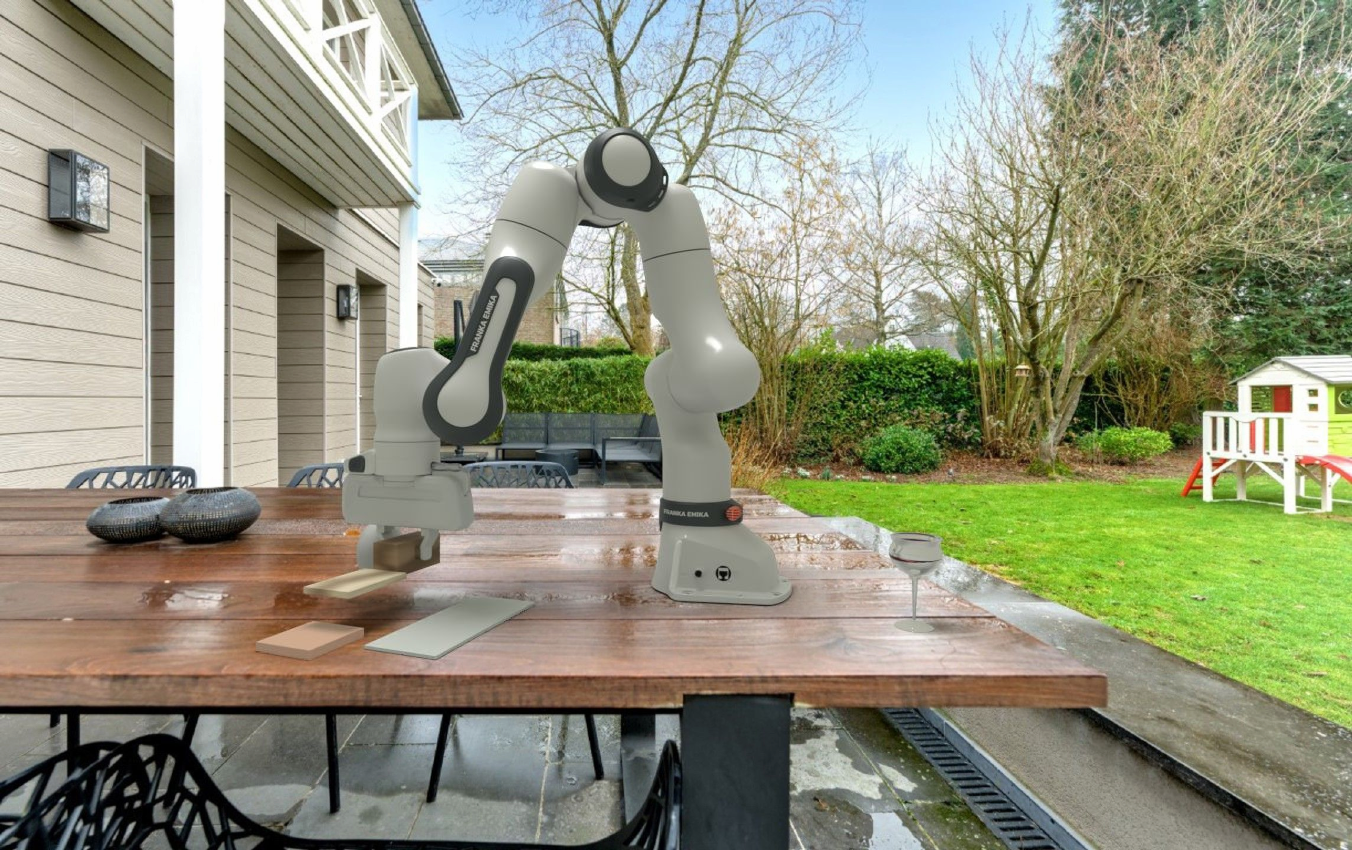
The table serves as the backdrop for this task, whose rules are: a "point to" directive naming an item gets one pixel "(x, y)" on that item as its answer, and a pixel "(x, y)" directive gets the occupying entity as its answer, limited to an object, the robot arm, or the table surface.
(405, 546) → the stepped slab stack
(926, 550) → the wineglass
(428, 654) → the mat
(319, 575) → the table surface
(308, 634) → the tile
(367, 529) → the donut
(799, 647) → the table surface
